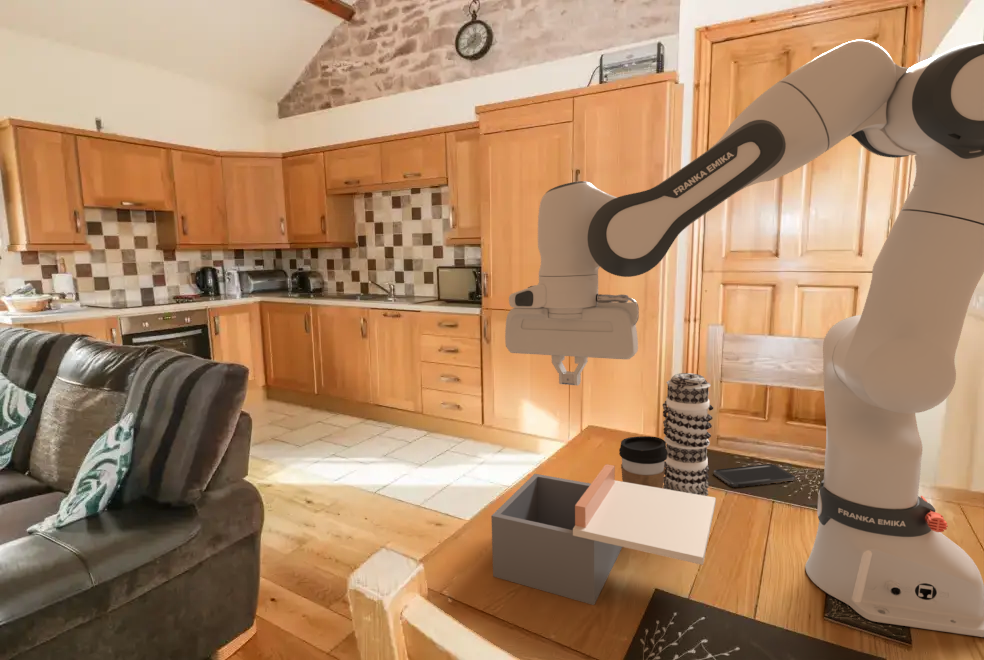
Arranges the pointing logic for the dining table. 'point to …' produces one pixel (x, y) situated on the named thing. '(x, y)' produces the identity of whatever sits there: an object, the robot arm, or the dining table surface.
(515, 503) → the storage box
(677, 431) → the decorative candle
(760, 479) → the phone
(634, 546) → the lid
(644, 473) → the coffee cup
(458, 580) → the dining table surface
